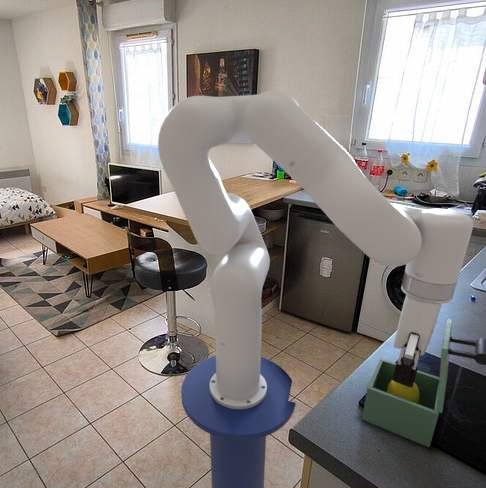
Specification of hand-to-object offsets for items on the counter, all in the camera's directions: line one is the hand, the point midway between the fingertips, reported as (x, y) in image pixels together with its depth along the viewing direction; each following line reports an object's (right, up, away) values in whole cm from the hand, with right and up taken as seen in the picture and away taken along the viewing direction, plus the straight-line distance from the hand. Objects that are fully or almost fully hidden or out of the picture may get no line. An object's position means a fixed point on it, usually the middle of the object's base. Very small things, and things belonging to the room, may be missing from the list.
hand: (406, 368), depth 67 cm
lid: (+4, +2, -4) cm, 6 cm away
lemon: (+1, -10, +4) cm, 11 cm away
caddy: (+1, -10, +4) cm, 11 cm away
